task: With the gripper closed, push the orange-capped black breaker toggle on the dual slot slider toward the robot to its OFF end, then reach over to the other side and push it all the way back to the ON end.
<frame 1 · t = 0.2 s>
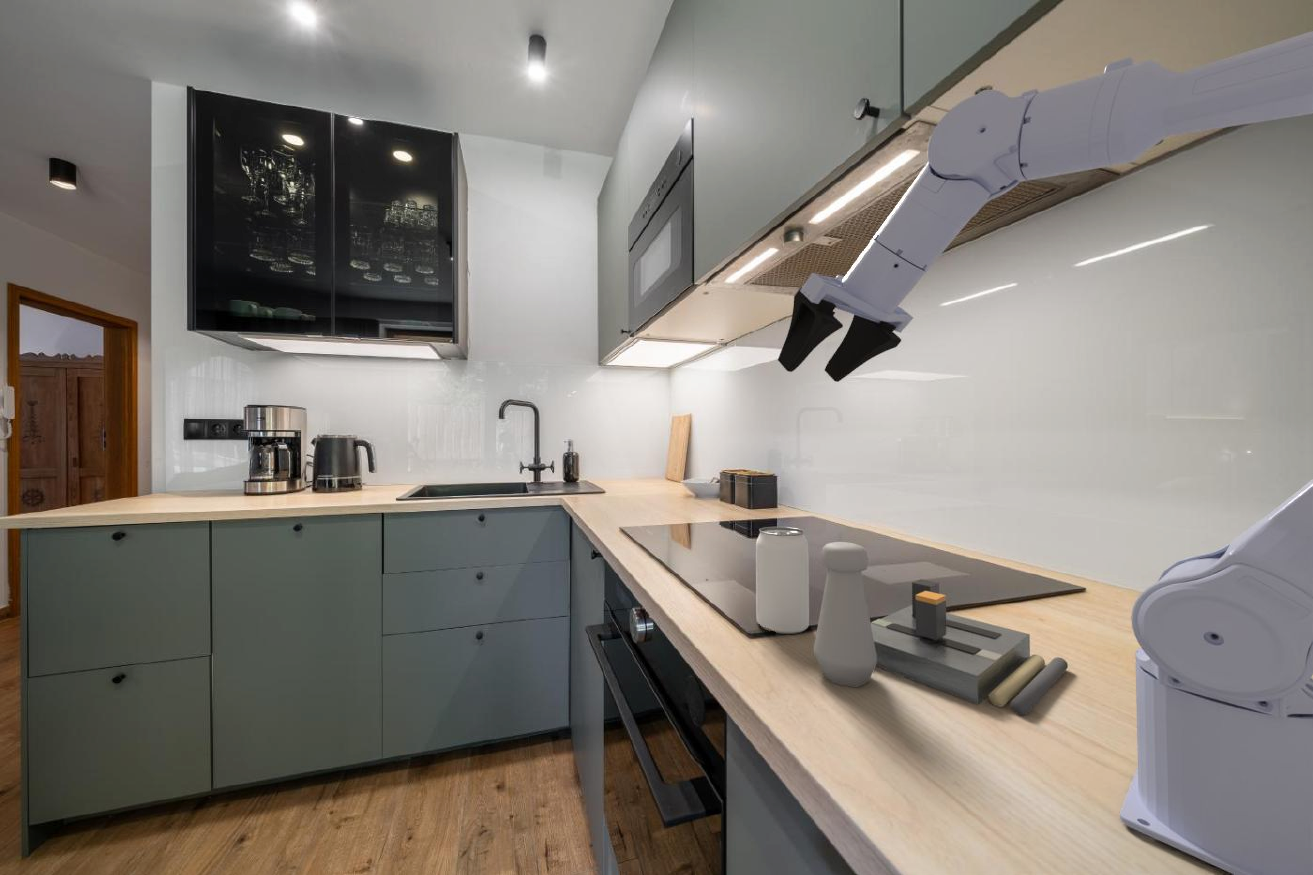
hand: (808, 371, 51), 31 cm above the table, tool tilted 45°, fingers open, 7 cm apart
can: (782, 626, 59), on the table
salt shaker: (845, 678, 46), on the table
toggle: (930, 614, 49), point 5 cm above the table, slide at 0.0 cm
pair of rollers: (1032, 687, 44), on the table
dual slot slider: (939, 656, 50), on the table
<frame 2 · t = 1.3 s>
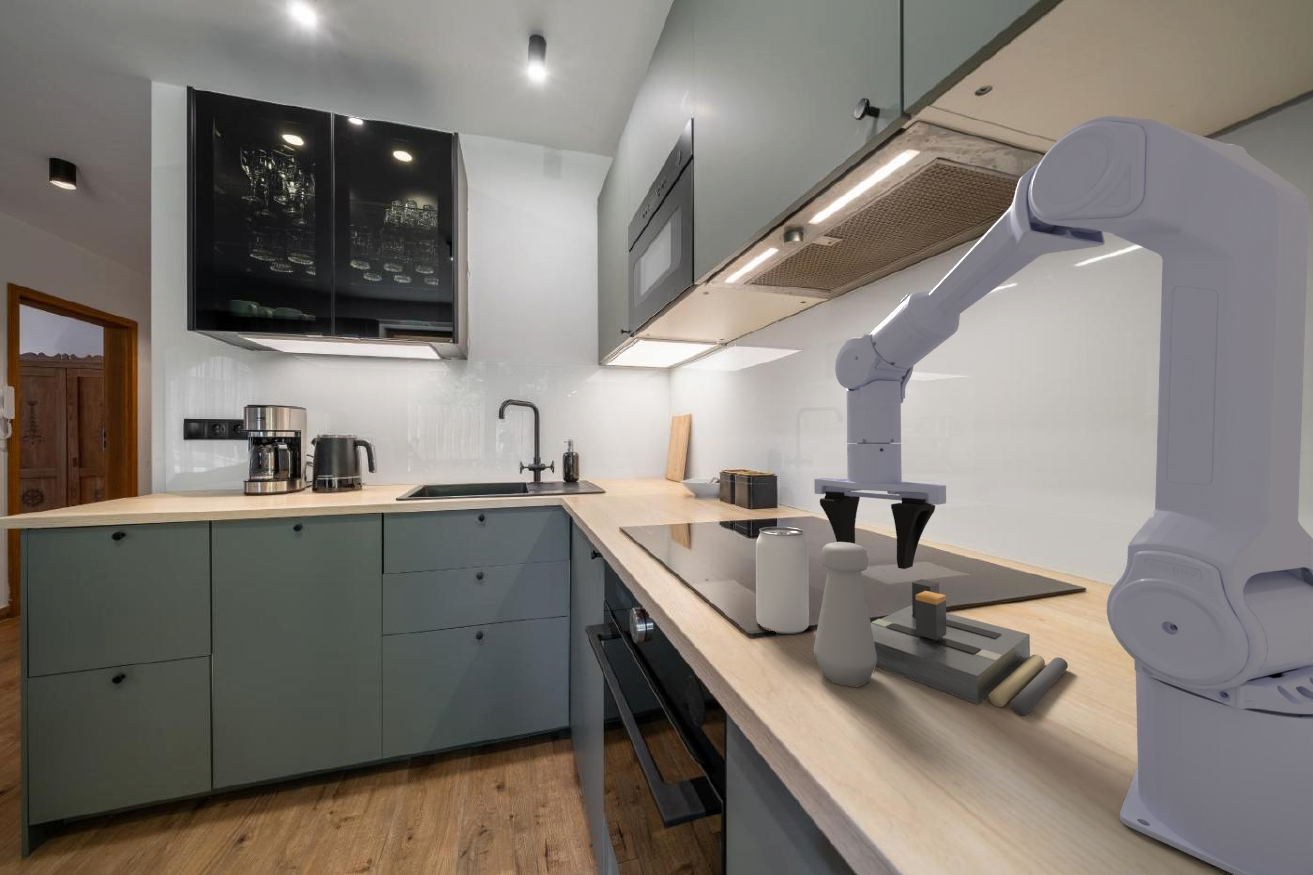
hand: (874, 561, 54), 9 cm above the table, tool pointing down, fingers open, 6 cm apart
nothing on the table moved.
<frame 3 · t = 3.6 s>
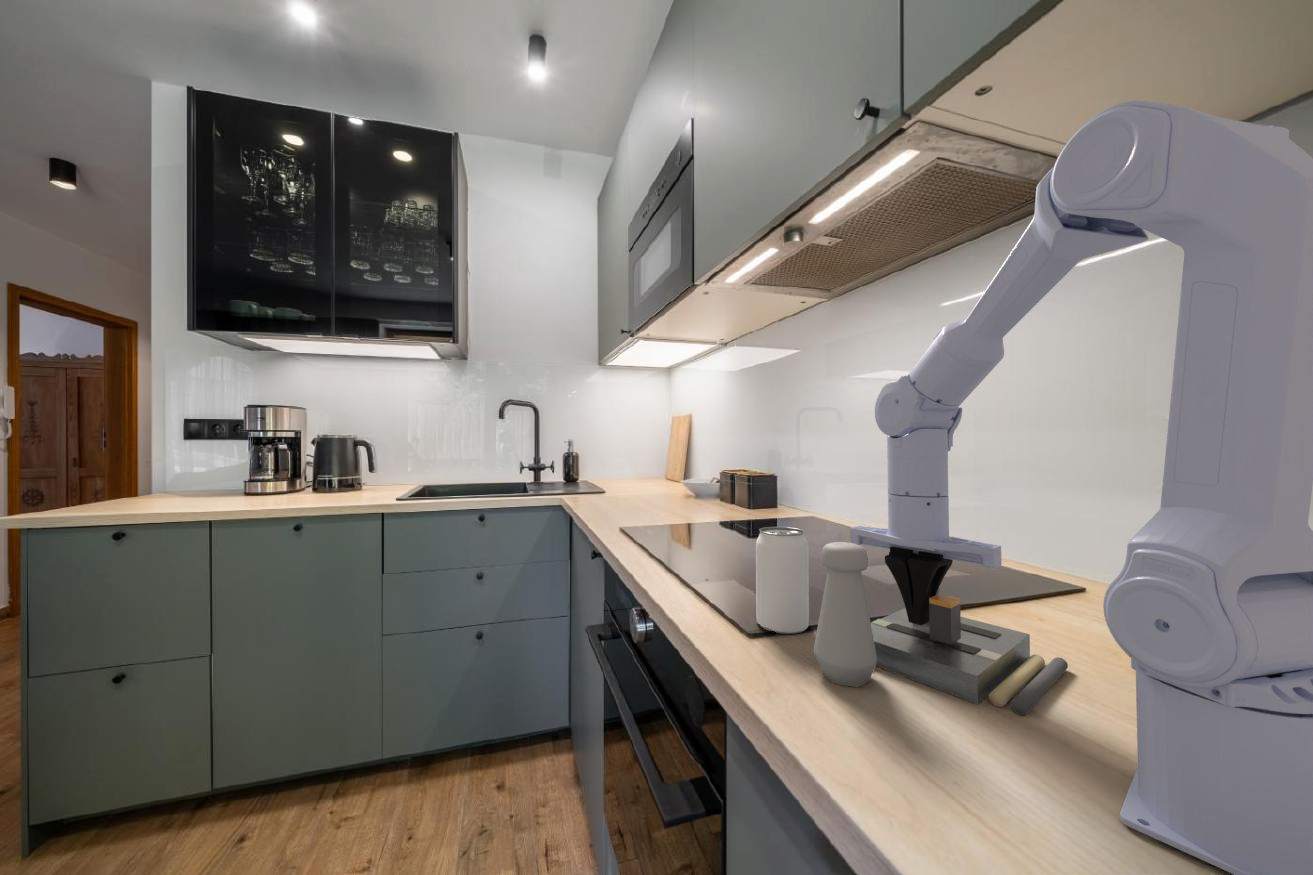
hand: (919, 621, 50), 4 cm above the table, tool pointing down, fingers closed
toggle: (944, 618, 48), point 5 cm above the table, slide at -1.4 cm, touching gripper
everything else where it was.
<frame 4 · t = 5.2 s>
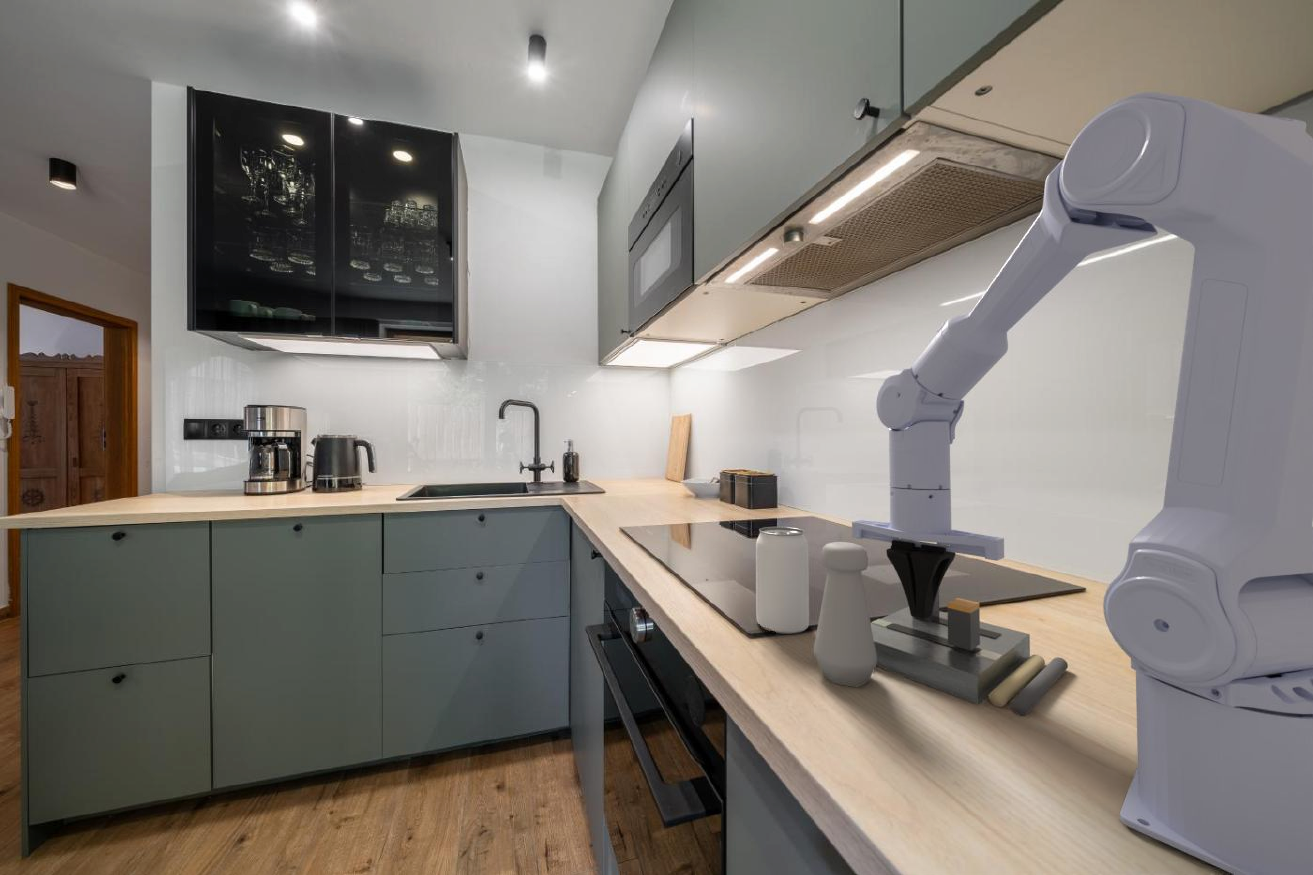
hand: (921, 615, 50), 5 cm above the table, tool pointing down, fingers closed
toggle: (963, 623, 47), point 5 cm above the table, slide at -3.1 cm
everything else where it was.
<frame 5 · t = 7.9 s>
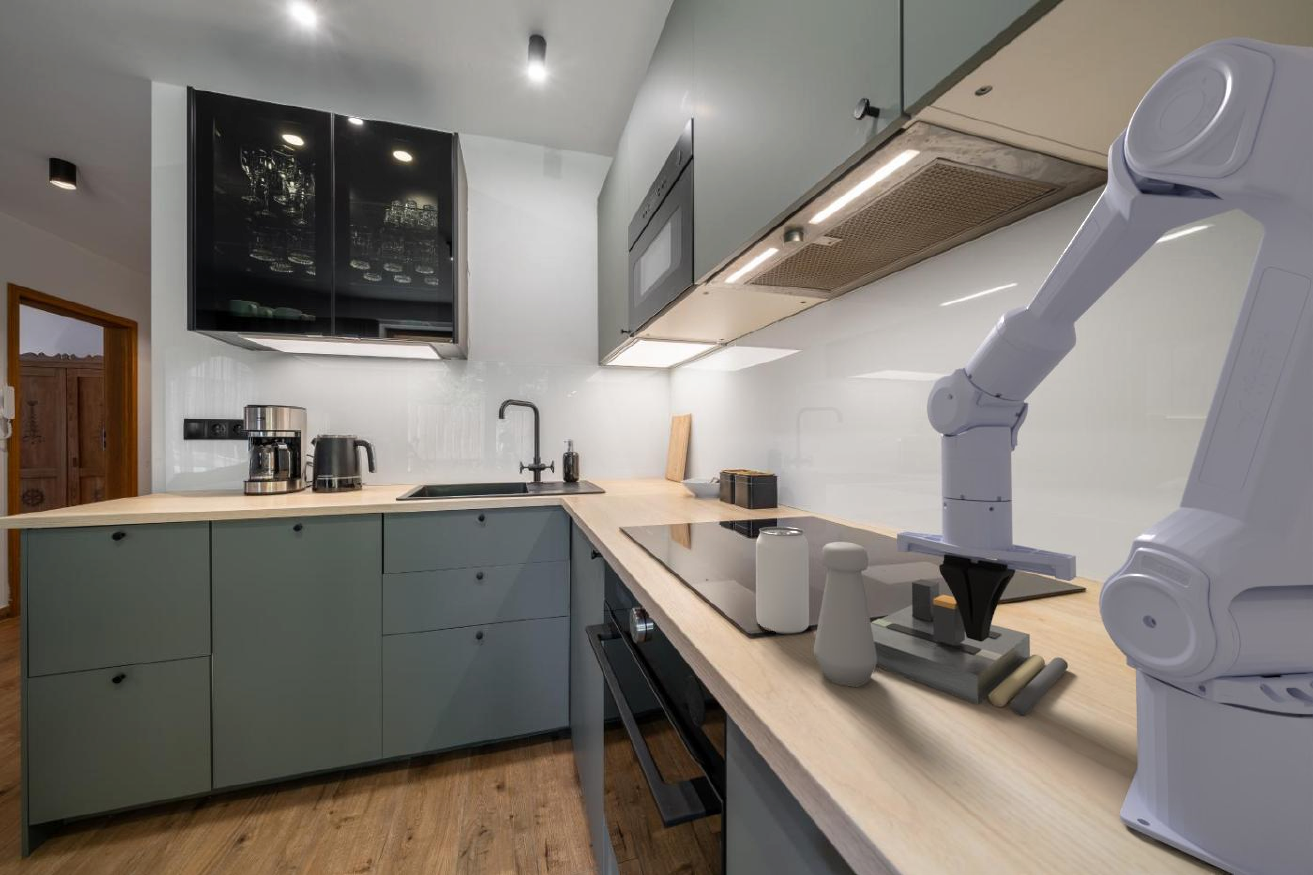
hand: (977, 637, 46), 4 cm above the table, tool pointing down, fingers closed
toggle: (948, 619, 48), point 5 cm above the table, slide at -1.7 cm, touching gripper
everything else where it was.
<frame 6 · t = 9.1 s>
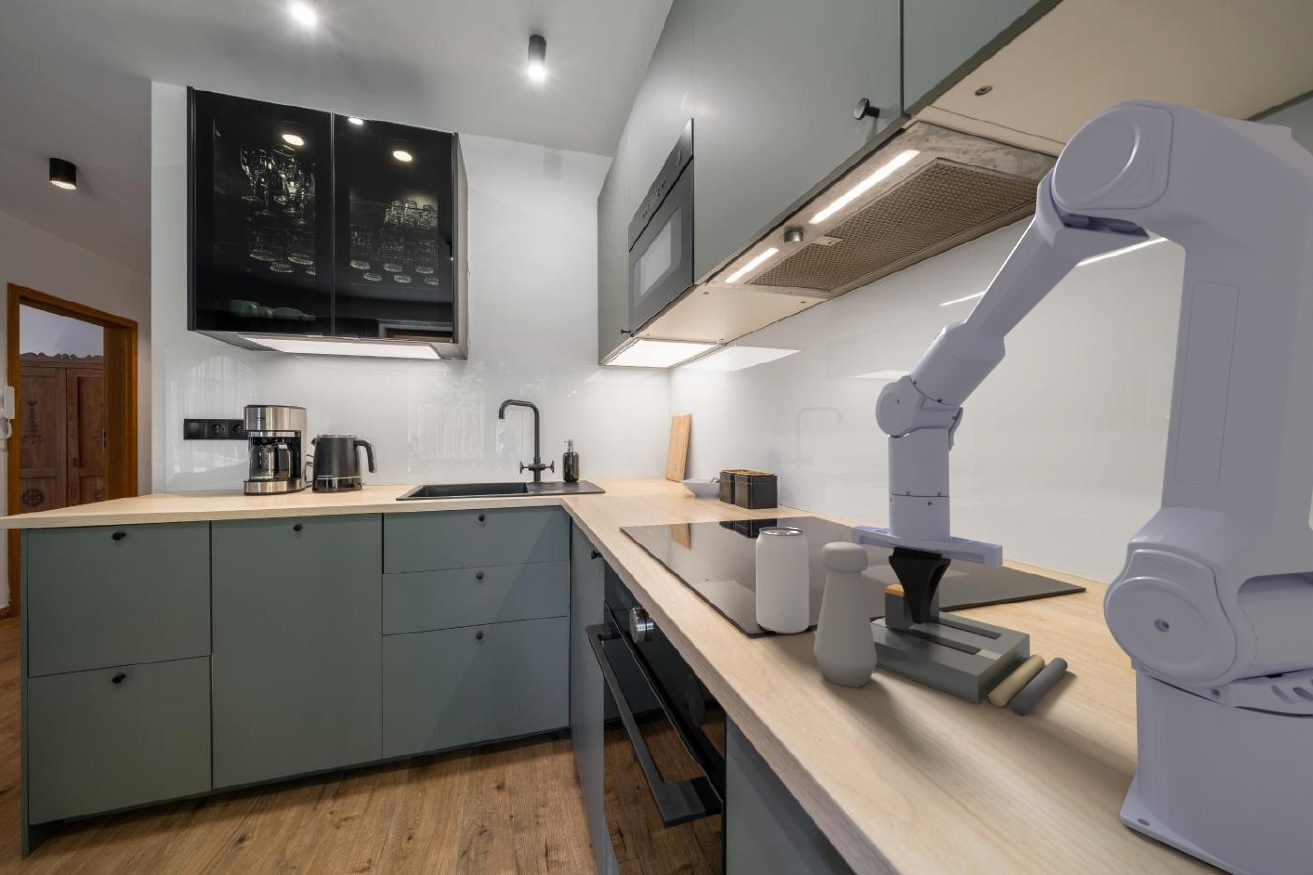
hand: (920, 621, 50), 4 cm above the table, tool pointing down, fingers closed
toggle: (899, 606, 52), point 5 cm above the table, slide at 3.3 cm, touching gripper
everything else where it was.
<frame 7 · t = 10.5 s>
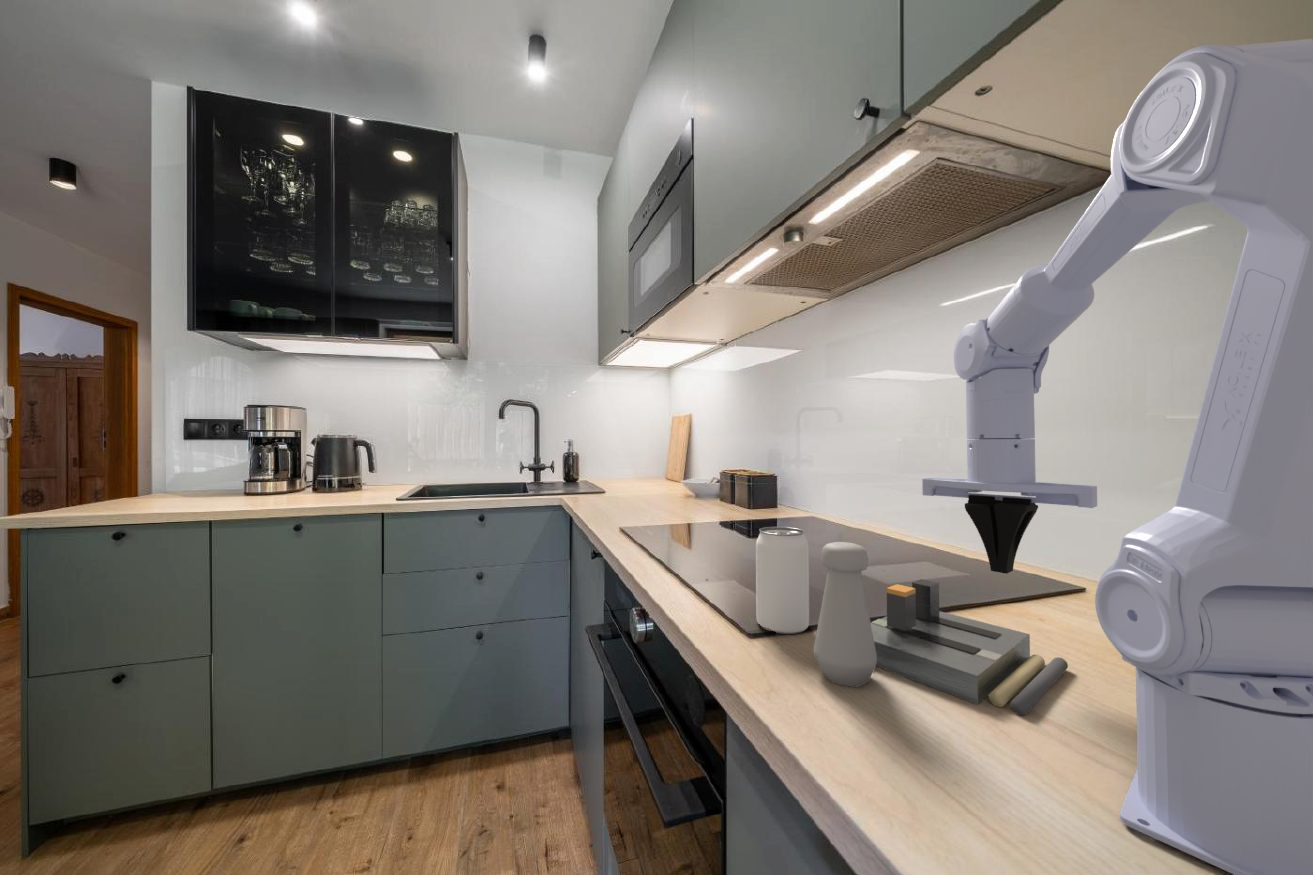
hand: (1001, 570, 48), 10 cm above the table, tool pointing down, fingers closed
toggle: (901, 606, 52), point 5 cm above the table, slide at 3.1 cm
everything else where it was.
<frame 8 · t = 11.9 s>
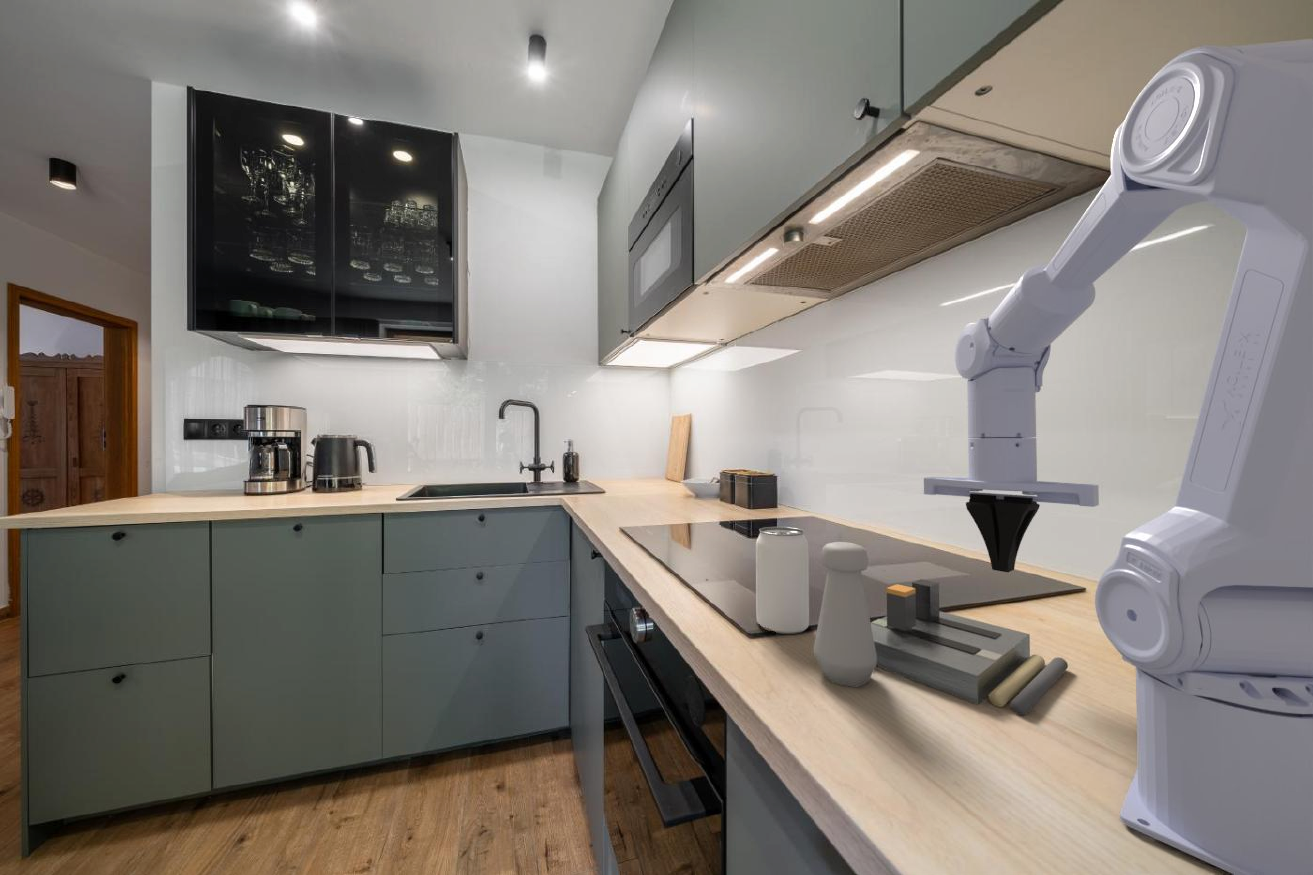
hand: (1003, 569, 48), 10 cm above the table, tool pointing down, fingers closed
nothing on the table moved.
at the end: toggle slide at 3.1 cm; toggle touching nothing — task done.
